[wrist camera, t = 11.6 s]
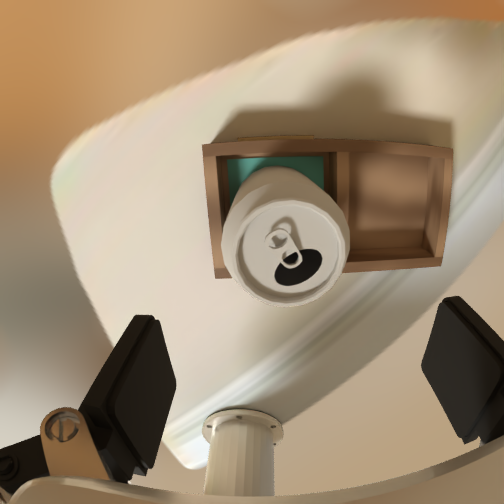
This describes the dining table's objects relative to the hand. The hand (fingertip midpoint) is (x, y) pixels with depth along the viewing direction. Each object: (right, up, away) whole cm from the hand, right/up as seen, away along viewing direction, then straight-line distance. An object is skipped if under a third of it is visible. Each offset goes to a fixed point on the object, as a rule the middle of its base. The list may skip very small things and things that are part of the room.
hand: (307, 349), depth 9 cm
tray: (+6, +8, +18) cm, 21 cm away
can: (0, +7, +18) cm, 19 cm away
